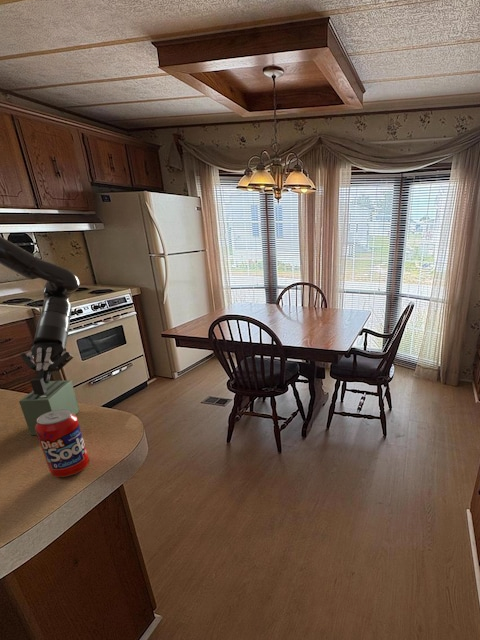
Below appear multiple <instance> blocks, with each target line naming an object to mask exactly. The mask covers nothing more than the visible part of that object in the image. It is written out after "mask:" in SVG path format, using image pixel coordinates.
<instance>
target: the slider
mask: <svg viewBox="0 0 480 640" xmlns="http://www.w3.org/2000/svg"><path fill="white" fill-rule="evenodd" d="M30 385H31V387H32V391H34V394H35V395H39V394H45V393H47V389H46V385H45V382H44V379H43V378H36V377H33V378H31V379H30Z"/></svg>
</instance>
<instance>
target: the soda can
mask: <svg viewBox="0 0 480 640" xmlns="http://www.w3.org/2000/svg"><path fill="white" fill-rule="evenodd" d="M35 430H36V433H37V435H36V436H37V438H38V441H39V444H40V448H41V450H42V454H43V456H44V459H45V462H46V465H47V468H48V470H49V473H50V475H52V476H53V477H56V478H64V477H70V476H73V475H76V474H78V473H79V472H82V471H83V470H84V469H86V467H87V466H88V465H89V463H90V458H89V455H88V451H87V450H88V449H87V447H86V443H85V440H84V436H83V434H82V429H81V426H80V422H79V419H78V416H77V415H74V414H72V412H71V411H70V410H66V409H61V410H54V411H51V412H48V413H45V414H43V415H41V416H40V417H39V418H38V419H37V424H36V426H35Z"/></svg>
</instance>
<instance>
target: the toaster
mask: <svg viewBox="0 0 480 640" xmlns="http://www.w3.org/2000/svg"><path fill="white" fill-rule="evenodd" d="M46 389H47V393H45V394H39V395H35V394H34V391H33V390H31V392H29V393H28V394H26V395H25V396H24V397H23V398H22V399H20V400H19V401H18V402H19V405H20V408H21V412H22V414H23V417H24V420H25V422H26V425H27V426H26V427H27V428H28V431H29V434H30V436H37V433H36V430H35V426H36V424H37V419H38V418H39V417H40V416H41V415H43V414H45V413H48V412H51V411H54V410H61V409H66V410H70V411H71V412H72V414H74V415H75V416H77V415H78V413H79V412H80V411H81V410H80V407H79V403H78V399H77V396H76V393H75V388H74V386H73V382H72V379H69V380H50V381H49V383H47V385H46Z"/></svg>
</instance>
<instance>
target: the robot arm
mask: <svg viewBox="0 0 480 640" xmlns="http://www.w3.org/2000/svg"><path fill="white" fill-rule="evenodd" d="M0 265H1V266H3V267H5V268H7V269H8V270H11V271H12V272H15V273H16V274H18V275H19V276H21V277H24V278H26V279H27V280H37V279H40V280H43V281H45V284H44V287H43V304H42V307H41V312H40V316H39V318H38V320H37V325H36V328H35V334H34V338H33V346H32V347H31V348H30V351H28V352H27V353H24V352H22V353H20V358H21V359H22V360H23V361H24V363H25V364H26V365H27V366H28V368H29V369H31V370H32V371H34V372H35V373H36V374H35V378H43V379H44V382H45V385H47V383H49V381H51V375H52V373H53V372H60V370H62V369H63V368H64V367H65V366H66V365H67V364H68V363H69V362H71V361H72V360H73V359H74V355H72V354H71V353H70V352H68V351H67V348H66V346H67V342H68V338H69V337H68V336H69V333H70V326H71V324H70V323H71V317H72V309H73V305H72V303H71V302H70V298H71V295H73V294H74V293H75V292H76V291H78V289H79V288H80V285H81V282H80V279H79V277H78V276H77V275H76V274H75V273H74V272H72V270H69V269H67V268H66V267H63V266H60V265H57V264H55V263H52V262H50V261H46V260H44V259H41V258H39V257H38V256H36V255H34V254H33V253H32V252H29V251H27V250H26V249H24V248H22V247H20V246H19V245H17V244H15V243H14V242H12V241H10V240H8V239H6V238H5V237H2V236H0ZM34 358H35V361H34ZM35 362H36V363H35Z"/></svg>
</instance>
